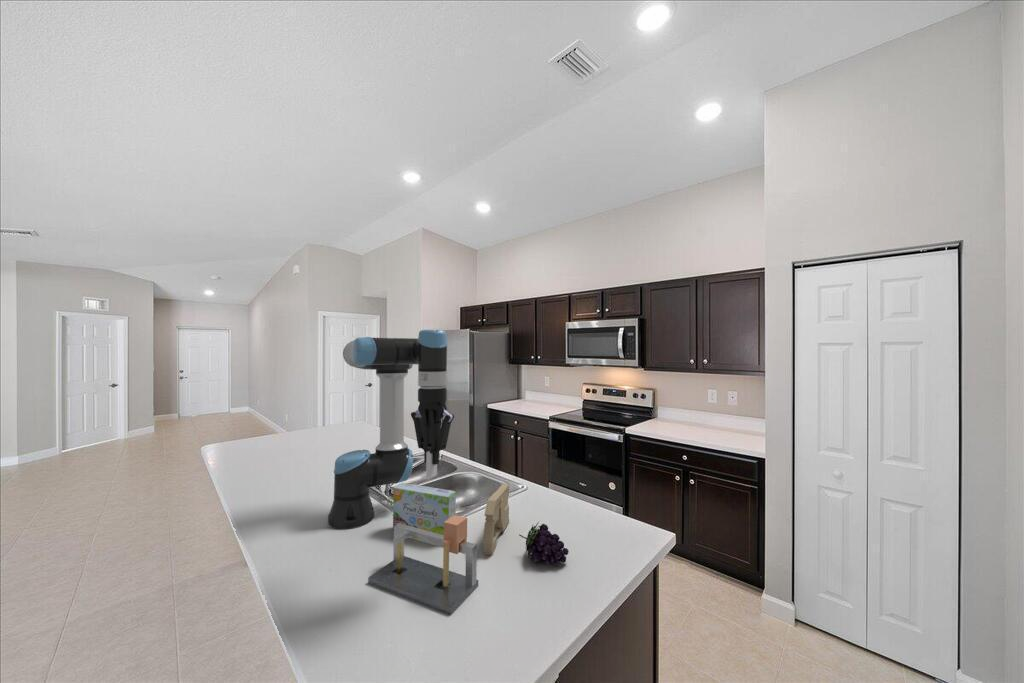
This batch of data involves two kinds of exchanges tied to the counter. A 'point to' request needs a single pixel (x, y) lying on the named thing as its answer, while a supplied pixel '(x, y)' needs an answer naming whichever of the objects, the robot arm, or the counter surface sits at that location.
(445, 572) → the block
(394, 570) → the bolt plate
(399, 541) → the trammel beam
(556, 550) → the fruit
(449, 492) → the snack box
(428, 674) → the counter surface
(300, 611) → the counter surface
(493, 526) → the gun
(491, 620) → the counter surface
